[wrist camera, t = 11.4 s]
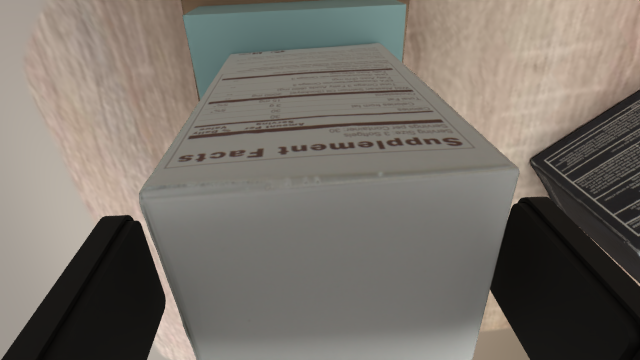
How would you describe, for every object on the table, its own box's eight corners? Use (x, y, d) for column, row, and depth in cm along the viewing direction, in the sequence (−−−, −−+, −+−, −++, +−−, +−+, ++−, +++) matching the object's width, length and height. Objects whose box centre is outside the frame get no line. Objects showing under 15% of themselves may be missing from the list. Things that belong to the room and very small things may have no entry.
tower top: (198, 6, 19) (182, 15, 16) (388, -3, 20) (406, 4, 17) (229, 172, 25) (221, 202, 22) (380, 162, 25) (392, 190, 22)
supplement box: (378, 173, 21) (470, 396, 11) (248, 183, 21) (205, 421, 10) (384, 37, 18) (537, 166, 7) (226, 46, 17) (119, 196, 6)
